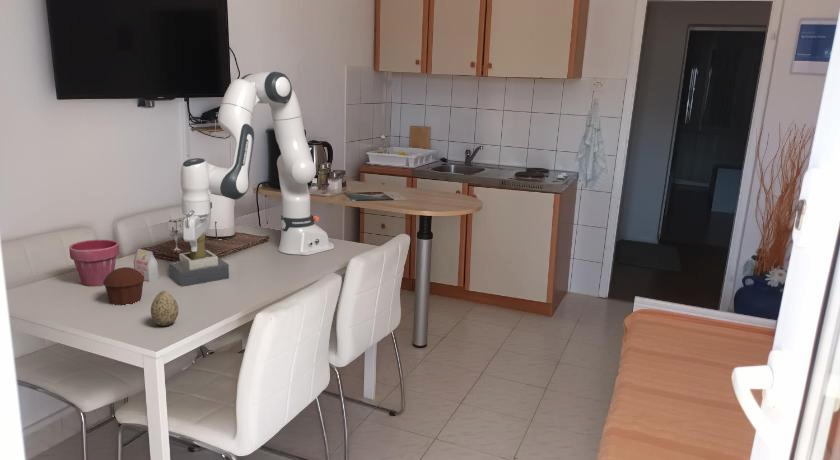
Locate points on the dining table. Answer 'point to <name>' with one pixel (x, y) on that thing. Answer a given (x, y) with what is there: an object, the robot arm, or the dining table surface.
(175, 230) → the wineglass
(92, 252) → the plant pot
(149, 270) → the white box
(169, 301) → the decorative egg
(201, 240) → the cork
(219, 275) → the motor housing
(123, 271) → the muffin
